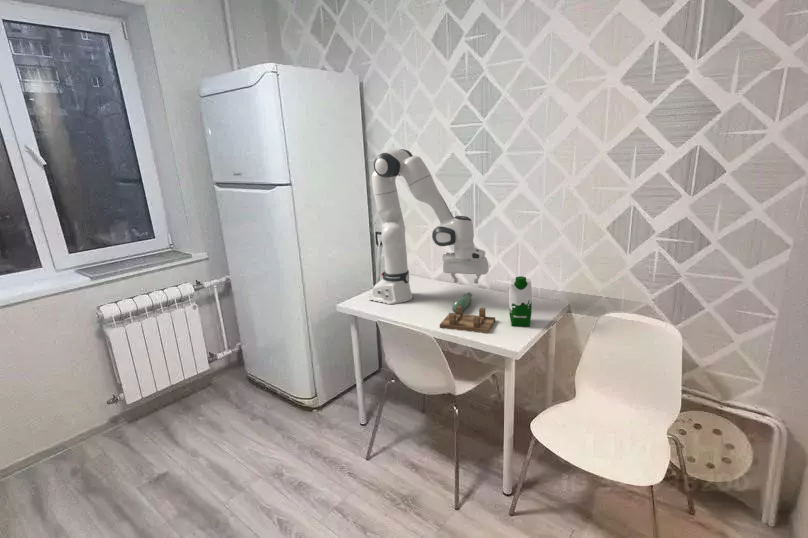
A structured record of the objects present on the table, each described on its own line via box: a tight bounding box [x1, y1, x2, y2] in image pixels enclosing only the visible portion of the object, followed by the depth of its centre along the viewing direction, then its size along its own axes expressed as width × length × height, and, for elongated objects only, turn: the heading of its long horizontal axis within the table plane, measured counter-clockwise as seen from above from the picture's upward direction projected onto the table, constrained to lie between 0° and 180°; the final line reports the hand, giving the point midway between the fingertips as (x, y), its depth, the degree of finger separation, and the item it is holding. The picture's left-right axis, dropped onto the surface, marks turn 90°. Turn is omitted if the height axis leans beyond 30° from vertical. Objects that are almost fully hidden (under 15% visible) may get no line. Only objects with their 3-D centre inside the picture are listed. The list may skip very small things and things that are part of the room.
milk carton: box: [508, 275, 533, 328], centre depth 168 cm, size 9×9×20 cm
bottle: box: [451, 291, 473, 313], centre depth 192 cm, size 19×5×5 cm
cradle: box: [439, 306, 496, 334], centre depth 172 cm, size 13×20×6 cm, turn 66°
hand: (466, 282), depth 187 cm, fingers open, 8 cm apart
